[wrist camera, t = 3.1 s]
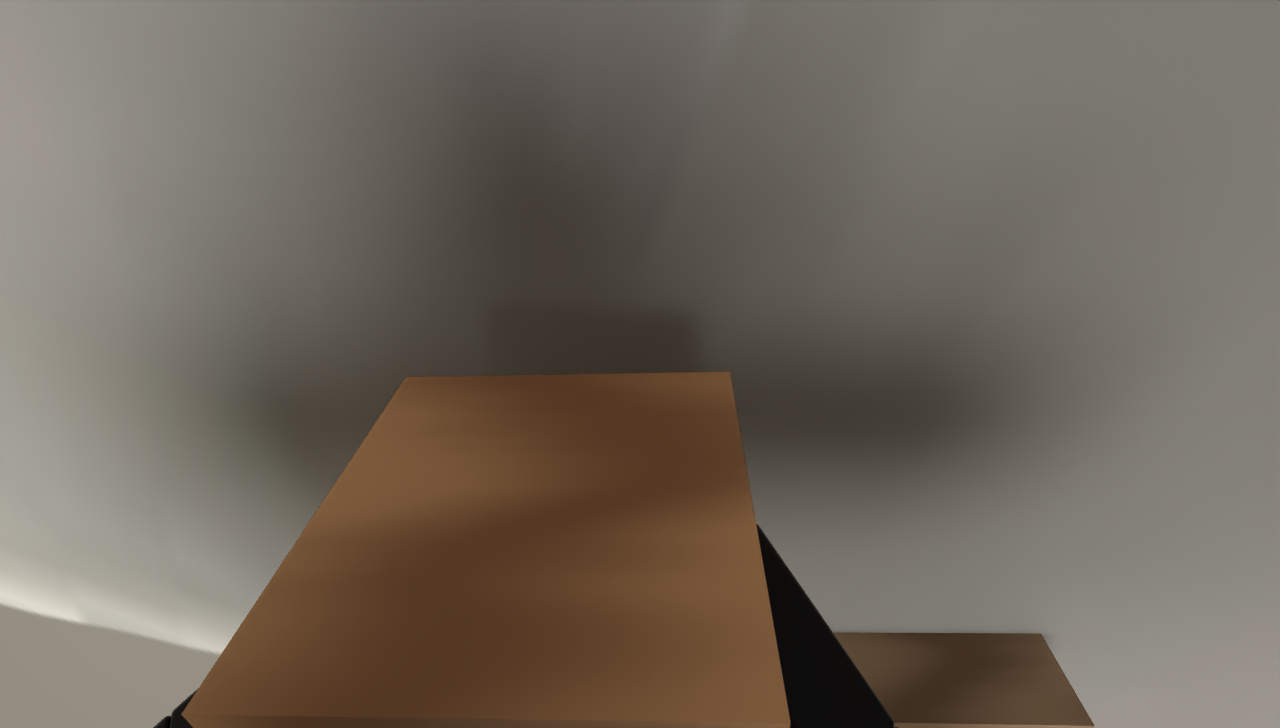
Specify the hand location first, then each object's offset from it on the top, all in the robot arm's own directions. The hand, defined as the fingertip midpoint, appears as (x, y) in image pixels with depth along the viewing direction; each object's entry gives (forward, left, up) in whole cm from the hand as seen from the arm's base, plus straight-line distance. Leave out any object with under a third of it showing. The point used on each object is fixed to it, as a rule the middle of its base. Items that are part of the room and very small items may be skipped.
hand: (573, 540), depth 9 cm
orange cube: (0, 0, -1) cm, 1 cm away
